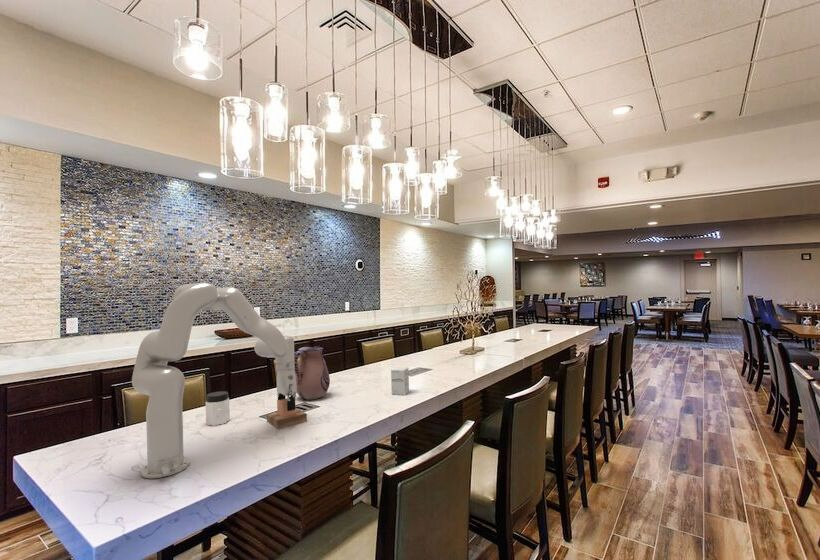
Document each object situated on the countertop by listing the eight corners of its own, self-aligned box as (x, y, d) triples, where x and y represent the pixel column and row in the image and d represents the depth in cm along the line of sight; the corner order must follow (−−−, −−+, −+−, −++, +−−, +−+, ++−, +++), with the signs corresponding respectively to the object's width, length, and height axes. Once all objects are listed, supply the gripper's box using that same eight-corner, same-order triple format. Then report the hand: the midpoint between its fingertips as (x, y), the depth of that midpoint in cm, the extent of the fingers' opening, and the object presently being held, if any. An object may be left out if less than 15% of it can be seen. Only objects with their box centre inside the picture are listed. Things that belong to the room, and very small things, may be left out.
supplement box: (391, 395, 195) (390, 369, 195) (396, 391, 202) (395, 366, 202) (405, 395, 192) (404, 370, 193) (409, 391, 200) (408, 367, 200)
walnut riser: (307, 421, 160) (306, 413, 160) (278, 428, 152) (278, 420, 152) (294, 414, 169) (294, 407, 169) (267, 421, 161) (266, 414, 161)
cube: (295, 413, 160) (295, 400, 160) (282, 416, 156) (282, 403, 156) (290, 410, 164) (289, 397, 164) (277, 413, 161) (277, 400, 161)
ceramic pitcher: (336, 393, 202) (334, 345, 203) (315, 405, 182) (314, 351, 182) (306, 392, 207) (304, 345, 207) (283, 403, 186) (281, 351, 187)
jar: (207, 427, 157) (206, 397, 157) (205, 422, 163) (204, 393, 164) (231, 422, 161) (230, 393, 162) (228, 417, 168) (227, 390, 169)
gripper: (302, 367, 157) (304, 410, 156) (285, 362, 170) (286, 401, 169) (284, 370, 152) (286, 414, 151) (268, 365, 165) (269, 405, 164)
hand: (286, 407), depth 160 cm, fingers open, 9 cm apart
